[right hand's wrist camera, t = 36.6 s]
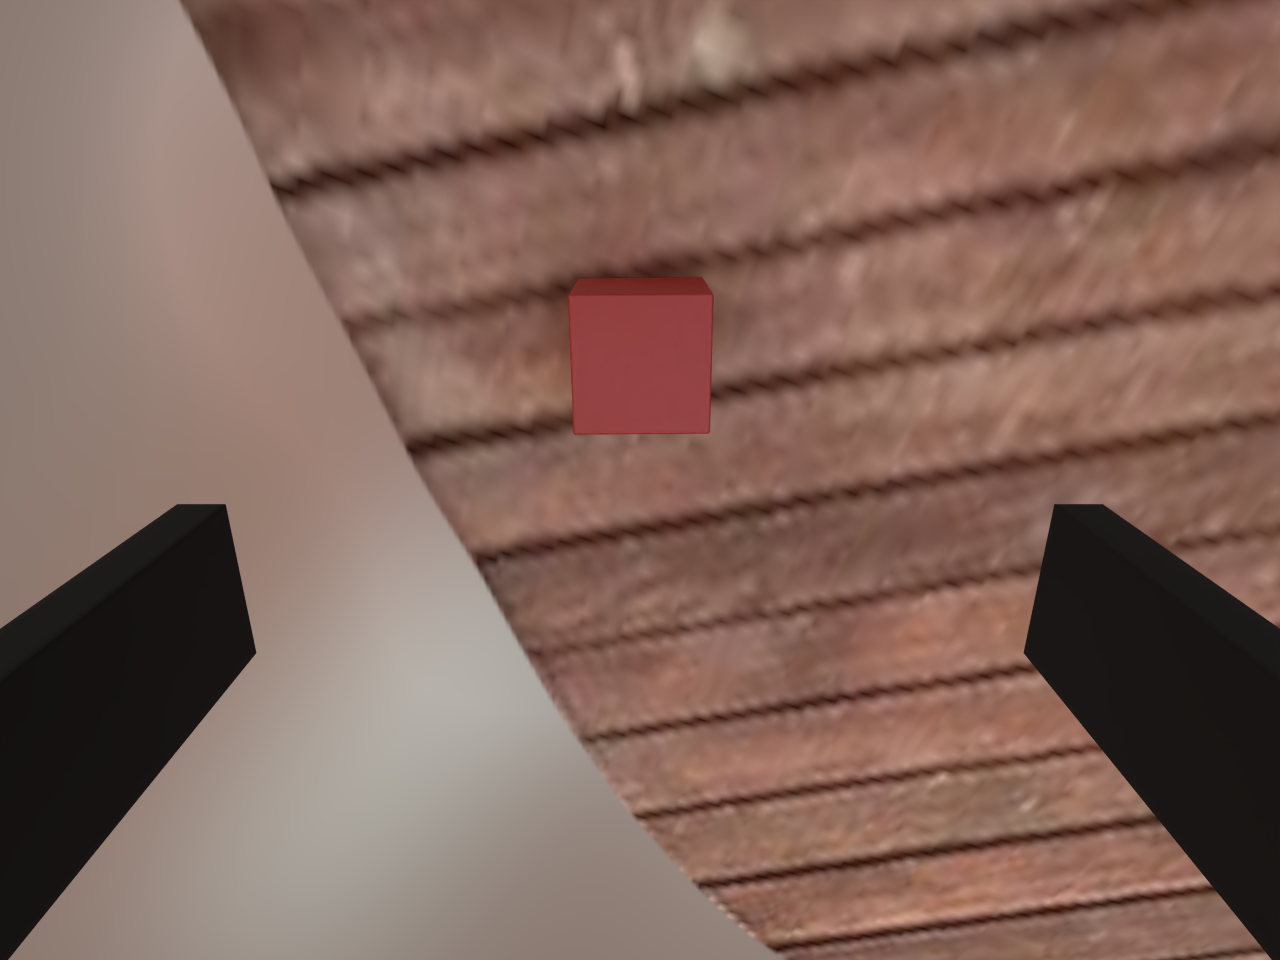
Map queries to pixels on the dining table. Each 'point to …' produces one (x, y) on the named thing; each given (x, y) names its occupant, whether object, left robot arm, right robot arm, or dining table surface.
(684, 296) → the block
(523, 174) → the dining table surface
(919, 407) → the dining table surface
